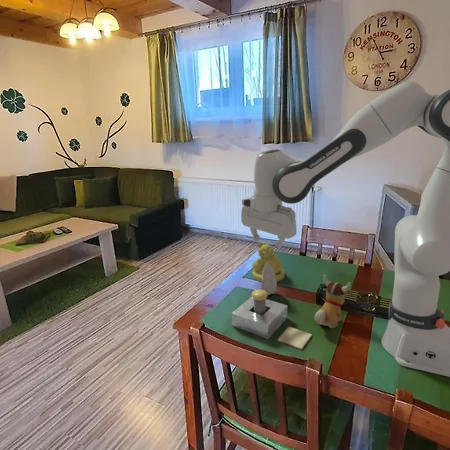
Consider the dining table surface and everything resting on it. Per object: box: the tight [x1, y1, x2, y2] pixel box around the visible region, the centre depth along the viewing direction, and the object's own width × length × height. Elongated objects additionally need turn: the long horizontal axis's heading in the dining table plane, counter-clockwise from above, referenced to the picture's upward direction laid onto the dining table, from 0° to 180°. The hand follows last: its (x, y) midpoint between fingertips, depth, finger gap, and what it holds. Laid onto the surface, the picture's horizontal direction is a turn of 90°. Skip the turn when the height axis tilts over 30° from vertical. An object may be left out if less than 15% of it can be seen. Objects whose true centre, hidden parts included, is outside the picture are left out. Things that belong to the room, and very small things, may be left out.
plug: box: [251, 289, 268, 316], centre depth 113 cm, size 5×5×11 cm
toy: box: [314, 274, 352, 329], centre depth 110 cm, size 10×16×15 cm, turn 135°
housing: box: [231, 295, 288, 340], centre depth 114 cm, size 14×14×5 cm
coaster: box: [277, 326, 312, 351], centre depth 105 cm, size 8×8×1 cm
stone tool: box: [260, 262, 278, 297], centre depth 129 cm, size 8×3×15 cm, turn 127°
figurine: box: [251, 241, 286, 283], centre depth 146 cm, size 15×14×15 cm
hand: (267, 244), depth 107 cm, fingers open, 8 cm apart
